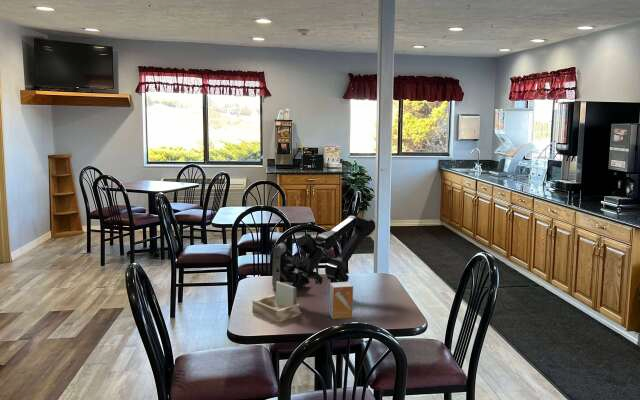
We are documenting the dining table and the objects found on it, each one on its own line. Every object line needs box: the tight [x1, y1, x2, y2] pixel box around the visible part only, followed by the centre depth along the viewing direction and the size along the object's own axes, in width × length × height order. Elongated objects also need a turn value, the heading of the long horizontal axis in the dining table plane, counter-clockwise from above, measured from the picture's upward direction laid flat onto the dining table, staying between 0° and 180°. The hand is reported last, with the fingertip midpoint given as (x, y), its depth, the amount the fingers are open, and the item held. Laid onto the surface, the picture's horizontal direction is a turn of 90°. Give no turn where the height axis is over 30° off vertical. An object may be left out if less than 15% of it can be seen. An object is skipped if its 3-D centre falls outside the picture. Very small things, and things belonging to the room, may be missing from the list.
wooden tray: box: [251, 294, 302, 323], centre depth 219 cm, size 12×16×4 cm
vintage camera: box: [271, 241, 306, 289], centre depth 252 cm, size 10×15×20 cm, turn 78°
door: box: [275, 281, 297, 307], centre depth 221 cm, size 1×12×10 cm, turn 45°
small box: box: [328, 281, 354, 320], centre depth 216 cm, size 8×6×13 cm
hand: (292, 291), depth 225 cm, fingers closed
